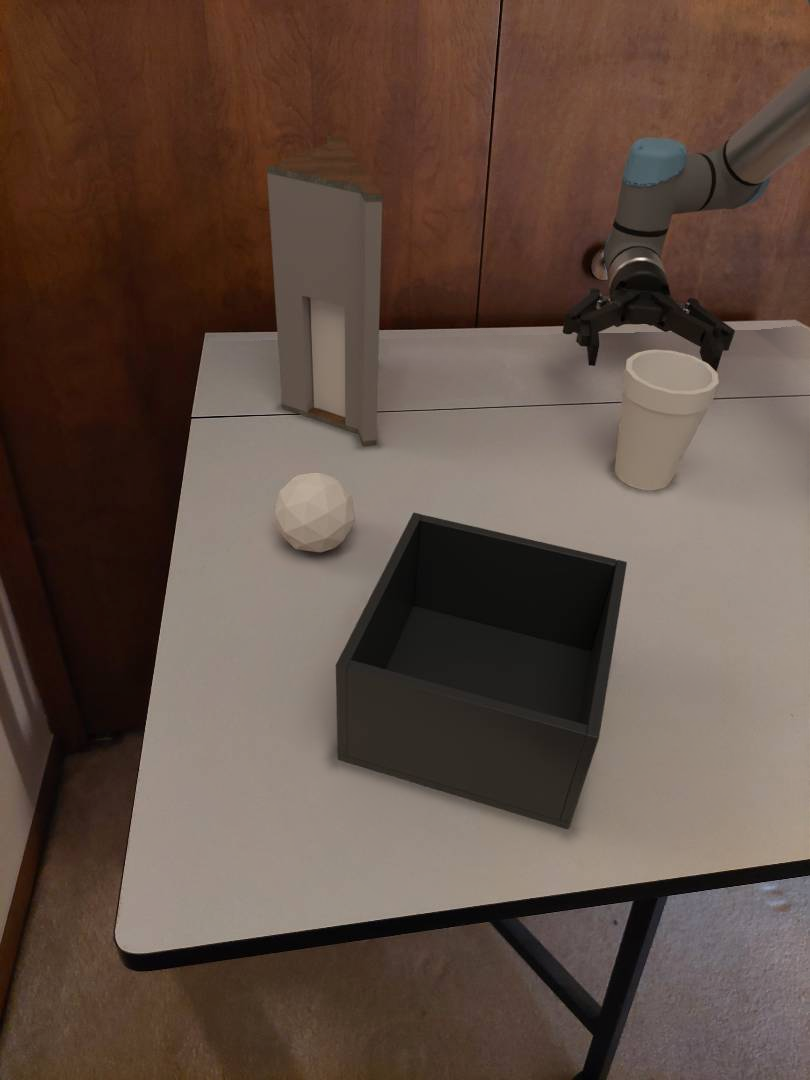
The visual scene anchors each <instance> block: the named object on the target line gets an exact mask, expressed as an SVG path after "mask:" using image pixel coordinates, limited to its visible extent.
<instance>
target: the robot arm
mask: <svg viewBox="0 0 810 1080" xmlns="http://www.w3.org/2000/svg"><path fill="white" fill-rule="evenodd" d="M807 3H808V5H809V6H810V0H807ZM808 147H810V64H809V65H808V66H807V67H806V68H805V69H803V70H802V71H801V72H800V73H799V74H798V75H797V76H796V77H795V78H794V79H793V80H792V81H791V82H790V83H788V84H787V85H786V86H785V87H784V88H783V89H782V90H781V91H780V92H779V93H777V94H776V95H775V96H774V97H773V98H772V99H771V100H770V101H768V103H766V105H764V106H763V107H762V108H761V109H760V110H759V111H758V112H757V113H755V115H753V116H752V117H751V118H750V119H749V120H748V121H747V122H746V123H745V124H744V125H743V126H742V127H740V128H739V129H738V130H737V131H736V132H735V133H734V134H733V135H732V136H730V137H729V138H728V139H727V140H726V141H724V142H723V143H722V144H721V145H720V146H719V147H718V148H717V149H715V150H713V151H707V152H696V153H695V152H694V153H688V148H687V145H685V143H682V142H681V141H678V140H675V139H672V138H665V137H655V136H652V137H651V136H649V137H642V138H639V139H638V140H636V141H634V142H633V143H632V145H631V146H630V149H629V152H628V155H627V158H626V162H625V166H624V168H623V172H622V175H621V177H622V178H621V179H622V180H621V185H620V190H619V196H618V202H617V208H616V213H615V217H614V220H613V223H612V226H611V232H610V234H609V235H608V237H607V239H606V241H605V244H604V245H605V246H604V252H603V261H604V267H605V271H606V275H607V283H608V289H609V296H608V295H604V293H601V291H600V289H599V288H598V287H597V288H596V287H593V288H590V290H589V294H588V295H587V296H586V297H585V298H583V299H582V300H580V301H579V302H578V303H577V304H575V305H574V306H573V307H571V308H570V309H569V310H568V311H566V312H565V315H564V321H563V326H562V334H564V335H573V333H575V334H576V340H575V342H576V343H577V344H578V345H579V346H580V347H586V351H587V364H588V366H590V367H596V363H597V358H598V356H599V355H598V354H599V350H600V345H601V344H600V335H599V333H600V332H602V331H605V330H607V329H609V328H611V327H616V328H619V327H622V326H623V325H626V324H627V325H628V324H630V325H647V326H649V327H655V328H656V329H658V330H661V331H662V332H664V333H668V332H671V333H673V334H675V335H677V336H679V337H681V338H682V339H684V340H687V341H688V342H690V343H692V344H693V345H696V346H697V347H699V351H698V352H699V356H700V358H701V359H700V360H702V361H704V362H706V363H708V364H709V365H710V366H711V367H712V368H713V369H714V370H715V371H716V372H717V371H718V369H719V365H720V362H721V359H722V355H723V352H724V351H725V352H726V351H729V350H730V348H731V345H732V343H733V339H734V337H735V333H736V330H735V329H734V328H733V327H731V326H730V325H729V324H727V323H726V322H724V321H723V320H722V319H720V318H719V317H717V316H716V315H714V314H713V313H712V312H710V311H709V310H707V308H705V307H703V306H702V305H701V304H700V301H699V300H698V299H696V298H694V297H689V298H687V301H686V303H678V302H677V301H676V300H675V299H674V298H672V297H671V289H670V285H669V281H668V278H667V274H666V270H665V267H664V264H663V260H662V253H663V249H664V246H665V241H666V238H667V233H668V231H669V228H670V223H671V221H672V218H673V215H680V214H688V213H689V214H690V213H696V212H706V211H716V210H733V209H738V208H741V207H744V206H749V205H752V204H754V203H756V202H758V201H759V200H760V199H761V198H762V197H763V196H764V195H765V192H766V190H767V188H768V187H769V185H770V182H771V178H772V175H774V174H775V173H776V172H777V171H779V170H780V169H781V168H783V167H784V166H785V165H787V164H788V163H789V162H790V161H792V160H793V159H794V158H795V157H797V156H799V154H800V153H802V152H803V151H804V150H806V149H807V148H808Z"/></svg>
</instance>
